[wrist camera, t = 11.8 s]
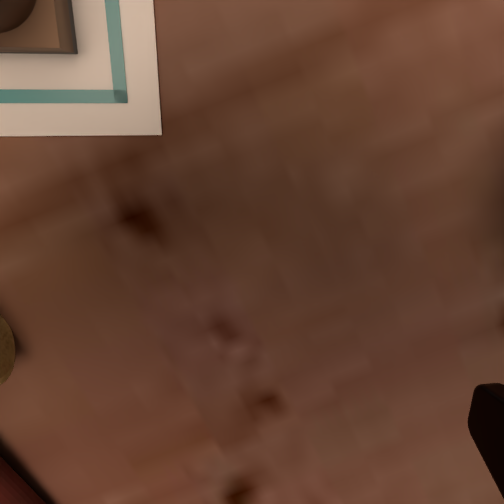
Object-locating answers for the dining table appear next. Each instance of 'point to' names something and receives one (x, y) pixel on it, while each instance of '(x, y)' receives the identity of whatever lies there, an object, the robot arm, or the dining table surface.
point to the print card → (88, 77)
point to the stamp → (37, 27)
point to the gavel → (3, 476)
